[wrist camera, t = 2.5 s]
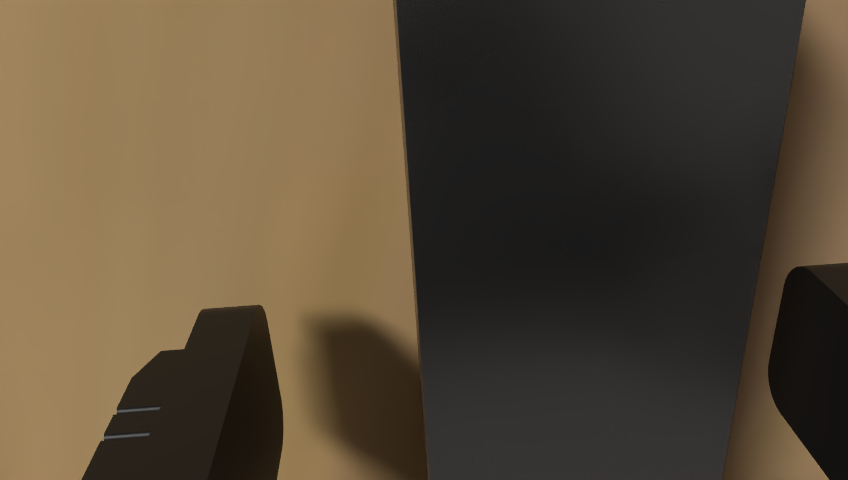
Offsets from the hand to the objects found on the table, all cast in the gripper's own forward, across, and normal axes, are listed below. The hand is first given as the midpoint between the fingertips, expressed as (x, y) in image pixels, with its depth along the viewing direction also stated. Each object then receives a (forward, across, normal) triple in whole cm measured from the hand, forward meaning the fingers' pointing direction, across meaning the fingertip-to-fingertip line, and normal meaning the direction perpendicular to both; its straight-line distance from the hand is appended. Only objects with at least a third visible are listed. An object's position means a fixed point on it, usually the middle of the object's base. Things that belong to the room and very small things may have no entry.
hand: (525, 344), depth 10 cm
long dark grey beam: (+1, 0, 0) cm, 1 cm away
